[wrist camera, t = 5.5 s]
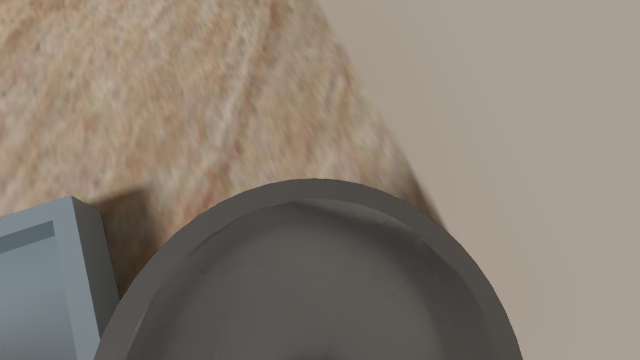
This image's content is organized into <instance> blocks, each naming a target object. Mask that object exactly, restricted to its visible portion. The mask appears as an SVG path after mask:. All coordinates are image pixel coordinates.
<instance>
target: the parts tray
mask: <svg viewBox="0 0 640 360" xmlns="http://www.w3.org/2000/svg"><path fill="white" fill-rule="evenodd" d="M119 302H120V298H119V293H118V289H117V284H116V280H115V276H114V271H113V267H112V262H111V258H110V253H109V249H108V244H107V240H106V236H105V231H104V227H103V222H102V218H101V213H100V211H99V210H97V209H95V208H93V207H91V206H90V205H88V204H86V203H84V202H82V201H80V200H79V199H77V198H75V197H73V196H68V197H64V198H61V199H58V200H55V201H51V202H48V203H45V204H42V205H38V206H35V207H32V208H29V209H25V210H22V211H19V212H16V213H12V214H9V215H6V216H3V217H0V360H93V359H94V357H95V354H96V351H97V348H98V346H99V343H100V340H101V337H102V335H103V333H104V331H105V329H106V327H107V325H108V323H109V321H110V319H111V317H112V315H113V313H114V311H115V309H116V307H117V305H118V304H119Z"/></svg>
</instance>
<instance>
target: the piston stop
mask: <svg viewBox="0 0 640 360" xmlns="http://www.w3.org/2000/svg"><path fill="white" fill-rule="evenodd" d="M93 360H523V359H522V355H521V352H520V349H519V345H518V342H517V339H516V336H515V334H514V331H513V329H512V326H511V324H510V322H509V319H508V317H507V314H506V312H505V310H504V308H503V306H502V304H501V302H500V300H499V298H498V297H497V295H496V293H495V291H494V289H493V287H492V286H491V284H490V283H489V281H488V280H487V278H486V277H485V276H484V274H483V272H482V271H481V269H480V268H479V266H478V265H477V264H476V262H475V261H474V260H473V259H472V258H471V256H470V255H469V254H468V253H467V252H466V251H465V249H464V248H463V247H462V246H461V245H460V244H459V243H458V242H457V241H456V240H455V239H454V238H453V237H452V236H451V235H450V234H449V233H448V232H447V231H446V230H445V229H444V228H443V227H442V226H440V225H439V224H438V223H436V222H435V221H434V220H432V219H431V218H430V217H428V216H427V215H426V214H425V213H423V212H422V211H420V210H418V209H417V208H415V207H413V206H412V205H410V204H408V203H407V202H405V201H403V200H401V199H399V198H397V197H394V196H392V195H390V194H388V193H385V192H383V191H381V190H378V189H374V188H371V187H368V186H365V185H362V184H357V183H352V182H347V181H341V180H333V179H316V178H312V179H296V180H287V181H282V182H277V183H271V184H266V185H263V186H260V187H257V188H254V189H251V190H247V191H244V192H242V193H240V194H238V195H235V196H233V197H231V198H229V199H227V200H224V201H222V202H220V203H218V204H217V205H215V206H214V207H212V208H210V209H209V210H207V211H205V212H204V213H202V214H200V215H199V216H197V217H196V218H195V219H193V220H192V221H191V222H189V223H188V224H187V225H186V226H184V227H183V228H182V229H180V230H179V231H178V232H177V233H175V234H174V235H173V236H172V237H171V238H170V239H169V240H168V241H167V242H166V243H165V244H164V245H163V246H162V247H161V248H160V249H159V250H158V251H157V252H156V253H155V254H154V255H153V256H152V258H151V259H150V260H149V261H148V263H147V264H146V265H145V266H144V268H143V269H142V270H141V271H140V272H139V274H138V275H137V276H136V277H135V279H134V280H133V282H132V283H131V285H130V286H129V288H128V290H127V291H126V293H125V294H124V296H123V297H122V299H121V300H120V302H119V304H118V305H117V307H116V309H115V311H114V313H113V315H112V317H111V319H110V321H109V323H108V325H107V327H106V329H105V331H104V333H103V335H102V337H101V340H100V343H99V346H98V348H97V351H96V354H95V357H94V359H93Z"/></svg>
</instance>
